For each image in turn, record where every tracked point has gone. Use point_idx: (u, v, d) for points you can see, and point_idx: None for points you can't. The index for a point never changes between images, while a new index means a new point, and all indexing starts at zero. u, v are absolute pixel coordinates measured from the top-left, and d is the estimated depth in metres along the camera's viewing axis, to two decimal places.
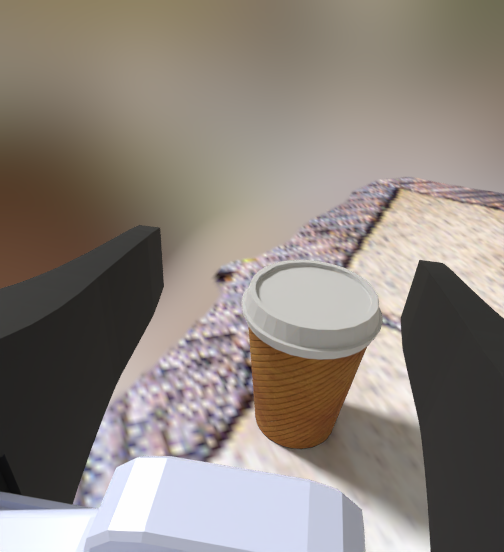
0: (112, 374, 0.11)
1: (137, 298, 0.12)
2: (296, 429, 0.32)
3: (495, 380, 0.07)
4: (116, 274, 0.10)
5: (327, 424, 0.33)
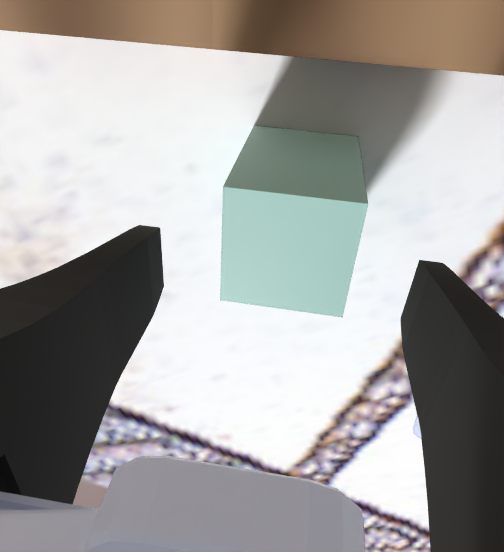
0: (112, 374, 0.11)
1: (137, 298, 0.12)
2: None
3: (494, 380, 0.07)
4: (116, 274, 0.10)
5: None
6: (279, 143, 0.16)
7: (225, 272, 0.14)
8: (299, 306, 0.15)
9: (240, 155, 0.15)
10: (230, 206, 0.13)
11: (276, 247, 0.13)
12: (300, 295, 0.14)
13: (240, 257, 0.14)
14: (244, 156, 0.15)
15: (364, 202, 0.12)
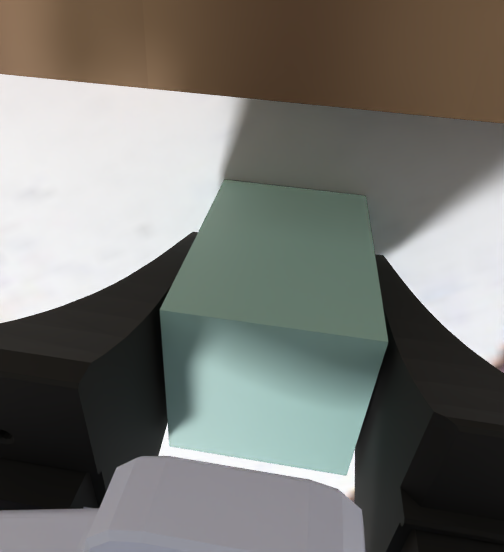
0: None
1: None
2: None
3: (399, 366, 0.07)
4: None
5: None
6: (256, 212, 0.11)
7: (173, 415, 0.10)
8: (283, 460, 0.10)
9: (197, 238, 0.10)
10: (173, 335, 0.08)
11: (246, 389, 0.09)
12: (284, 447, 0.10)
13: (194, 398, 0.09)
14: (203, 240, 0.10)
15: (382, 338, 0.08)
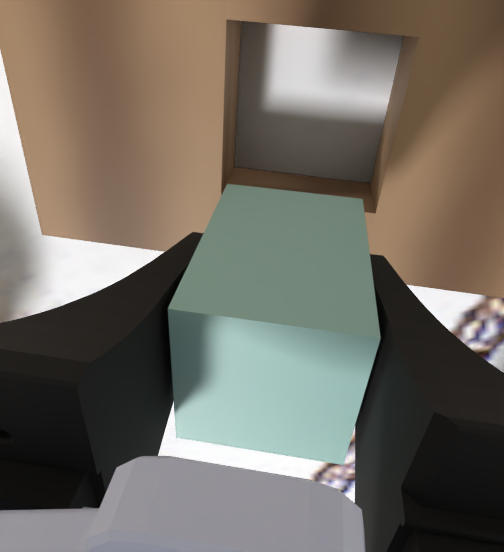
0: None
1: None
2: None
3: (399, 366, 0.07)
4: None
5: None
6: (258, 215, 0.12)
7: (180, 408, 0.10)
8: (284, 450, 0.11)
9: (202, 241, 0.11)
10: (181, 332, 0.09)
11: (249, 383, 0.09)
12: (284, 438, 0.10)
13: (199, 391, 0.10)
14: (207, 242, 0.11)
15: (375, 334, 0.08)
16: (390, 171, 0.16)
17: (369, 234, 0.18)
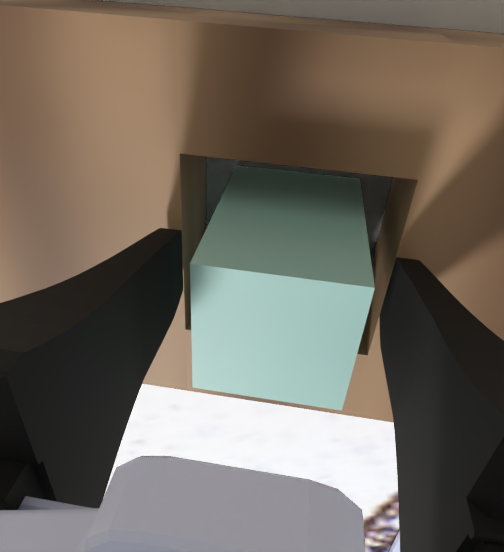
0: (137, 377, 0.11)
1: (160, 301, 0.12)
2: None
3: (457, 374, 0.07)
4: (142, 278, 0.10)
5: None
6: (265, 191, 0.13)
7: (197, 358, 0.12)
8: (289, 397, 0.12)
9: (216, 211, 0.12)
10: (200, 286, 0.10)
11: (259, 333, 0.11)
12: (290, 385, 0.12)
13: (215, 342, 0.11)
14: (221, 212, 0.12)
15: (370, 285, 0.10)
16: None
17: (360, 375, 0.15)
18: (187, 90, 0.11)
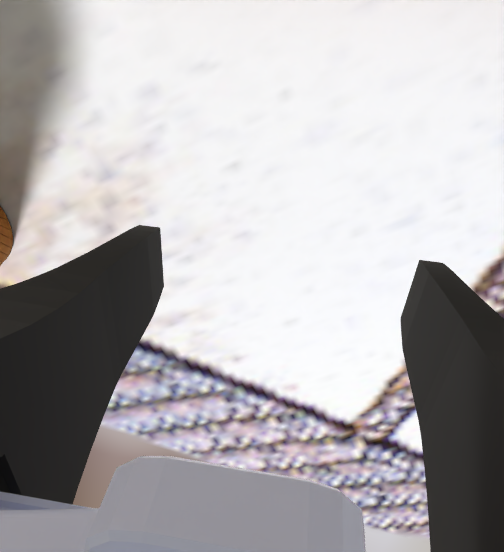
0: (112, 374, 0.11)
1: (137, 298, 0.12)
2: None
3: (495, 380, 0.07)
4: (116, 274, 0.10)
5: None
6: None
7: None
8: None
9: None
10: None
11: None
12: None
13: None
14: None
15: None
16: None
17: None
18: None
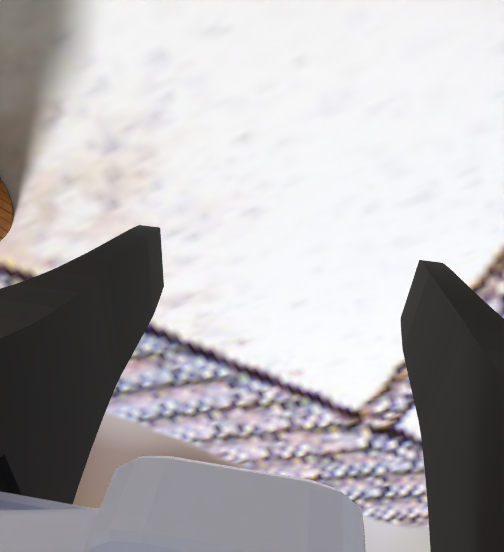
0: (112, 374, 0.11)
1: (137, 298, 0.12)
2: None
3: (494, 380, 0.07)
4: (116, 274, 0.10)
5: None
6: None
7: None
8: None
9: None
10: None
11: None
12: None
13: None
14: None
15: None
16: None
17: None
18: None
